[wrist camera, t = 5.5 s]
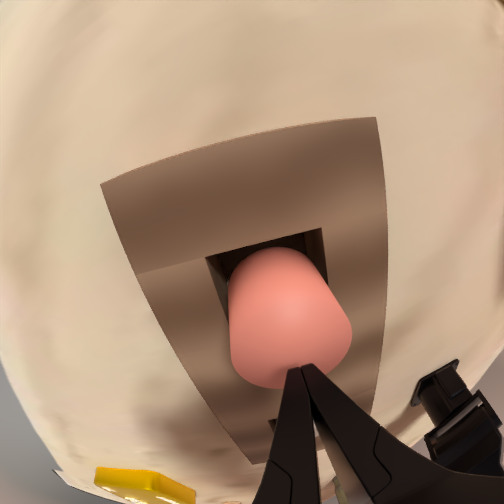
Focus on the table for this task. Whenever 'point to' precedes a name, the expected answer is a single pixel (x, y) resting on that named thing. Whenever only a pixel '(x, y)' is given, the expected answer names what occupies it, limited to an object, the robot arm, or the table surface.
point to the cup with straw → (231, 502)
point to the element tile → (143, 486)
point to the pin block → (252, 232)
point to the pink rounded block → (283, 317)
